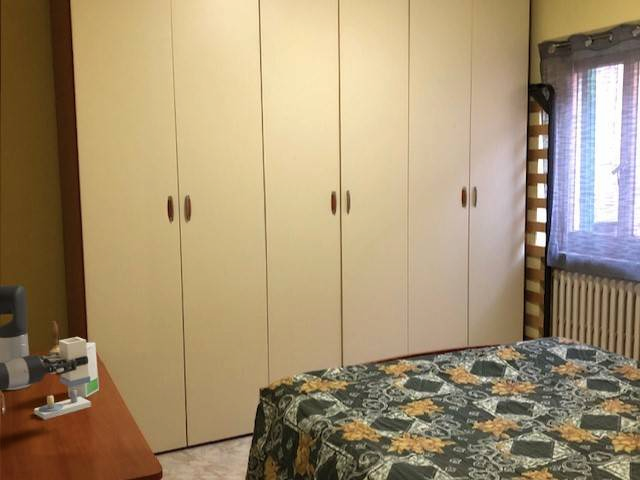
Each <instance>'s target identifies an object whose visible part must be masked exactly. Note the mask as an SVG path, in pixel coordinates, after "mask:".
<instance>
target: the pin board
mask: <svg viewBox="0 0 640 480" xmlns="http://www.w3.org/2000/svg"><path fill="white" fill-rule="evenodd" d="M70 396H71V397H70V398H69V399H64V400H62V401H59V402H55V398H54V395H47V396H46V402H47V404H45V405H42V406H40V407H36V408H34V410H33V411H34V415H37V417H39V418H41V419H42V420H48V419H52V418H55V417H58V416H62V415H66V414H69V413H70V414H71V413H73V412H77V411H81V410H83V409H87V408H90V407H92V402H91V401H90V400H88V399H86V398H82V397H77V390H71V391H70Z"/></svg>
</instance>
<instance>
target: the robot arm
mask: <svg viewBox="0 0 640 480" xmlns="http://www.w3.org/2000/svg"><path fill="white" fill-rule="evenodd" d="M27 301H28V300H27V293H26V289H25V287H24V286H23V285H19V284H18V285H17V284H16V285H15V284H13V285H0V315H12V319H11V320H10V321H8V322H6V323H3V324H0V390H1V391H4V390H5V391H14V390H20V389H21V390H22V389H25V388H27V387H30V386H31V385H32V384H38V383H41V382H42V381H43V380H44V378H45V375H47V374H48V375H54V374H55V375H56V376H61V374H64V373H67V372H71V371H74V370H76V367H77V366H81V365H85V364H88V357H87V356H83V357H79V358H74V359H65V358H60V355H59V353H56V354H50V353H49V354H44V355H39V354H36V353H35V354H30V349H29V348H30V347H29V336H28V303H27ZM61 361H62V362H63V364H61ZM70 364H71V366H69V365H70Z"/></svg>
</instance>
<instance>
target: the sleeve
mask: <svg viewBox="0 0 640 480" xmlns="http://www.w3.org/2000/svg"><path fill="white" fill-rule="evenodd" d="M86 343H87V339H84V338H81V337H79V336H75V337H70V338H65V339H59V340H58V346H59V351H60V358H65V359H74V358H79V357H83V356H87V345H86ZM61 364H63V362H62V361H61ZM69 366H71V364H70V365H69ZM59 382H60V383H61V385H62V384H63V385H64V386H66V387H67V388H68V387H73V386H77V385H81V384H85V383H89V382H91V381H90V376H89V374H88V364H85V365H81V366H77V367H76V370H74V371H71V372H67V373H64V374H61V375H60V377H59Z"/></svg>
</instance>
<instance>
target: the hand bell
mask: <svg viewBox="0 0 640 480" xmlns="http://www.w3.org/2000/svg"><path fill="white" fill-rule="evenodd" d="M50 323H51V324H50V328H49V329H50V334H51V335H50V336H51V338H52V343H53V344H52V345H53V346H52V347H53V348H52V349H50V350H49V355H50V354H56V353H59V355H60V351H59V339H58V336H59V327H58V325H57V322H56V320H52V321H51V322H50Z"/></svg>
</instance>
